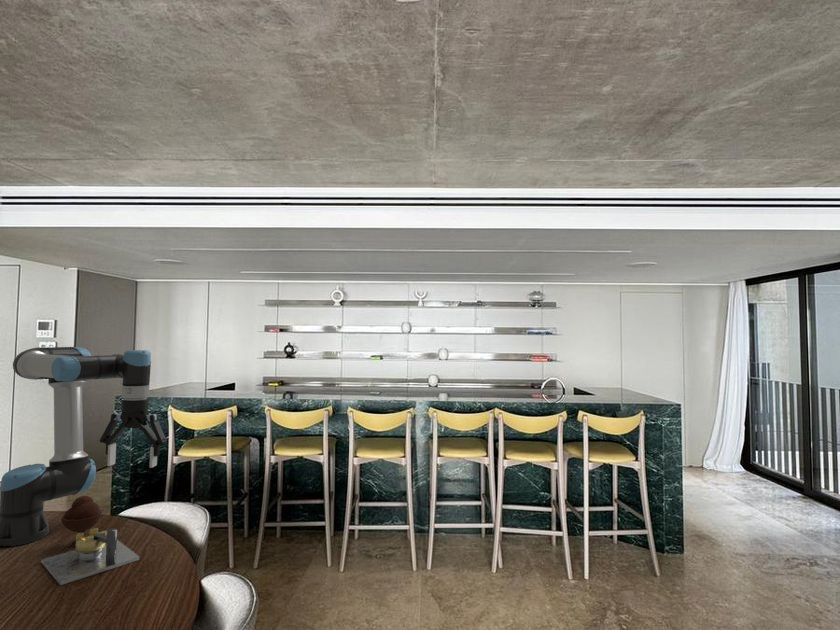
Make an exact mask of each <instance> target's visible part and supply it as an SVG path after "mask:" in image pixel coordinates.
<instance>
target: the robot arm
mask: <svg viewBox="0 0 840 630" xmlns="http://www.w3.org/2000/svg"><path fill="white" fill-rule="evenodd" d="M151 360H152V359H151V351H150V350H147V349H146V350H143V349H142V350H141V349H136V350H135V349H130V350H129V349H128V350H126V351H124V352H123V354H121V353H118V354H110V355H92V354H91V352H90V351H89V349H86V348H85V347H80V346H79V347H78V346H58V347H57V346H55V347H54V346H53V347H51V346H50V347H46V346H45V347H43V346H41V347H39V346H37V347H33V348H29V349H26V350H24V351H21V352H19V354H17V355H16V357H15V358H14V360H13V362H12V370H13V372H14V373H15V374H16V375H17V376H19V377H20V378H24V379H28V380H33V381H34V380H35V381H37V380H39V381H40V380H43V381H44V380H48V386H49V387H51V388H52V389H53V431H54V432H53V438H54V439H53V440H54V442H53V443H54V445H53V446H54V447H53V448H54V450H53V451H54V453H53V454H54V455H53V456H52V457H51V458H50V459H49V461H48V466H46V465H45V464H44V463H34V464H26V465H23V466H19V467H16V468H13V469H11V470H8V471H7V472H5V473H4V474H3V475H2V477H1V480H0V546H4V547H3V548H6V547H5V546H11V547H17V546H16V545H18V546H22V544H23V545H26V543H27V544H29V543H33V542H36V541H38V540H41V539H43V538H45V537H46V536H47V535H48V534H49V532H50V526H49V523H48V522H49V521H48V519H47V517H46V514H45V512H44V505H45V502H48V501H52V500H56V499H61V498H64V497H68V496H75V495H78V494H82V493H84V492H86V491H88V490H89V489H90V488H91V487H92V485H93V483H95V482H94V481H95V479H96V475H97V474H96V473H97V467H96V463H95V461H94V459H92V458H89V454H88V453H87V452H85V451H84V424H83V423H84V421H83V418H84V415H83V414H84V411H83V409H84V408H83V386H84V385H85V384H86V383H87V382H88V381H89V380H105V379H122V385H121V388H122V389H121V390H122V391H121V398H122V400H121V403H120V405H121V406H120V411H121V413H120V412H114V413H112V414H111V416H110V420H109V422H108V424H107V426H106V427H105V430H104V432H103V434H102V435H101V437H100V439H99V442H100V443H103V444H105V455H107V462H106V463H107V465H106V466H107V467H111V466H113V465H116V459H117V458H116V455H117V443H116V442H115V441H116V440H117V439H118V438H119V437H120V436H121V435H122V434H123V433H124V432H125V430H126V429H136V430H137V429H139V430H140V431H142V433H143V435H145V437H146V438H147V439H148V441H149V442H150V443H151V444H152V445H151V446H150V449H149V468H150V469H151V468H152V469H153V468H154V467H156V466H157V465H158V456H160V454H161V445H164V444H166V443H167V438H166V436H165V433H164V431H163V429H162V426H161V424H160V422H159V415H158V413H154V414H148V411H149V406H150V405H149V404H150V403H149V402H150V399H149V397H150V380H151V369H152V368H151V367H152V366H151V364H152V361H151ZM120 420H121V423H120V424H119V425H118V423H119V421H120ZM147 421H148V422H149V423H150V424H149V423H148V422H147ZM117 425H118V428H116V426H117ZM150 426H151V427H150Z"/></svg>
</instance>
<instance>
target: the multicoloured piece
mask: <svg viewBox="0 0 840 630" xmlns="http://www.w3.org/2000/svg"><path fill="white" fill-rule="evenodd" d="M75 540H76V547H74V548H75V549H74V550H75V551H76V552H78V553H88V552H94V551H97V550H100V549H102V548H104V547H105V546H106V565H107V566H110V565H114V564H115V563H116V549H117V540H118V529H117V528H110V529H108V530H102V531H99V527H96V528H93V527H92V528H90V529H89V532H88V533H85V534H84V533H78V532H77V534H76V535H75Z"/></svg>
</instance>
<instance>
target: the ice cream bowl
mask: <svg viewBox="0 0 840 630" xmlns="http://www.w3.org/2000/svg"><path fill="white" fill-rule="evenodd" d="M102 513H103V510H101V508H100V505H98V503H96V502H95V501H94V499H93V498H92V496H88V495H82V496H79V497H76V498H75V499H74V501H73V502H72V503H71V507H70V508H69V509H68V510H66V511H65V513H64V514H63V516H62V517H61V523H62V525H63V526H64V528H66V529H67V530H69V531H72V532H74V533H77V534H78V533H84V534H86V531H88V530H90V529H92V528H93V527H94V526H95V525H96V524H97V523H98V522H99V519H100V518H101V516H102ZM72 546H73V547H72ZM70 547H72V548H75V547H76V539H75V540H73V541H72V542H71V544H70Z"/></svg>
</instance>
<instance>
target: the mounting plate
mask: <svg viewBox="0 0 840 630" xmlns="http://www.w3.org/2000/svg"><path fill="white" fill-rule="evenodd" d="M40 561H41V564H42V565H43V566H44V568H45V569H46V570H47V571H48V572H49V574H50V575H51V576H52V577H53V579H54V580H55V581H56V582H57V583H58V585H59V586H64V585H66V584H68V583H73V582H76V581H78V580H82V579H85V578H87V577H91V576H94V575H96V574H100V573H103V572H106V571H109V570H112V569H117V568H119V567H122V566H125V565H129V564H131V563H134V562H137V561H140V556H139V555H138V554H137V553H135V552H134V551H133V550H132V549H130V547H127V546H126V545H125V543H122V542H121V541H119V539H117V549H116V563H115V564H114V565H110V566H107V565H106V546H105V547H104V548H102V549H100V550H97V551H94V552H88V553H78V552H76V551H75V549H74V550H70V551H67V552H63V553H60V554H57V555H56V554H55V555H53V556H49V557H45V558H42V559H41V560H40Z"/></svg>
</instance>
